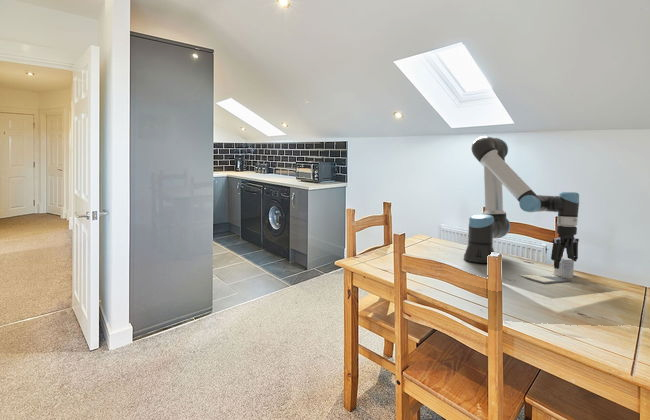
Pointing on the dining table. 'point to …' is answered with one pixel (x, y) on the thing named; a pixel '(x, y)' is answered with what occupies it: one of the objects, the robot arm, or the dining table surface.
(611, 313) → the dining table surface
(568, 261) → the medicine box
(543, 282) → the mat
